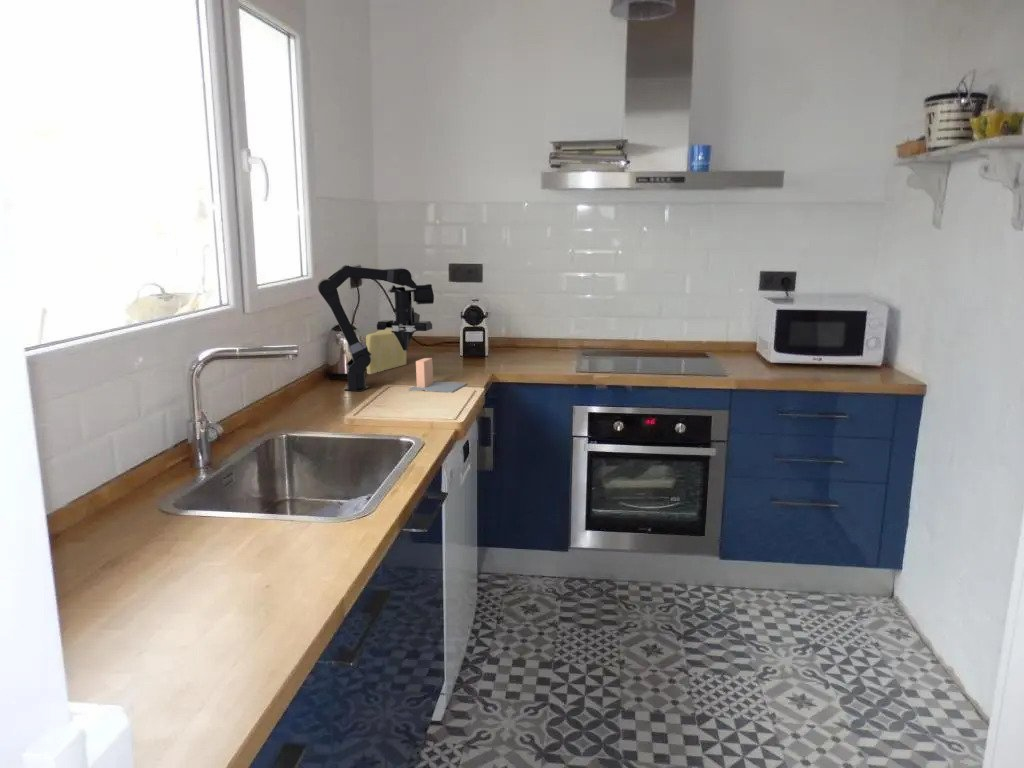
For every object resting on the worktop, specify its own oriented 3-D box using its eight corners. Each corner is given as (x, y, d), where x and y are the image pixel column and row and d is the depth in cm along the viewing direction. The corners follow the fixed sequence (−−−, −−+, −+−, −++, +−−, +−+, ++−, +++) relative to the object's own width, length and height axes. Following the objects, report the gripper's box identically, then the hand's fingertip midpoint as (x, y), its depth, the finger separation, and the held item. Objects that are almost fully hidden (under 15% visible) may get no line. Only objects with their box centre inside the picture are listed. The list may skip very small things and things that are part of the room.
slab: (424, 387, 258) (423, 361, 256) (416, 387, 259) (415, 361, 257) (433, 383, 264) (432, 358, 262) (425, 383, 265) (424, 357, 263)
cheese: (379, 375, 283) (377, 335, 280) (357, 374, 287) (355, 334, 284) (407, 365, 304) (406, 328, 300) (386, 363, 307) (384, 327, 304)
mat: (452, 392, 251) (452, 391, 251) (408, 390, 256) (408, 389, 256) (467, 384, 264) (467, 383, 264) (425, 382, 269) (425, 381, 269)
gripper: (437, 303, 263) (439, 347, 266) (389, 302, 268) (391, 345, 272) (424, 306, 252) (426, 352, 255) (374, 305, 258) (377, 350, 261)
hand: (405, 350), depth 261 cm, fingers closed
